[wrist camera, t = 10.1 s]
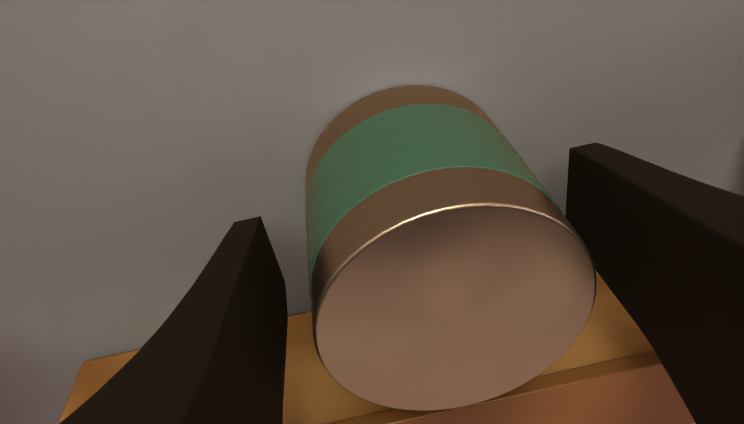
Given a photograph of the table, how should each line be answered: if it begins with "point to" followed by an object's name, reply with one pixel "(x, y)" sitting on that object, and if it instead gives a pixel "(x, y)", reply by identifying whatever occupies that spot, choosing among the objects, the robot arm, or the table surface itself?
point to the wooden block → (491, 417)
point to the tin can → (436, 255)
